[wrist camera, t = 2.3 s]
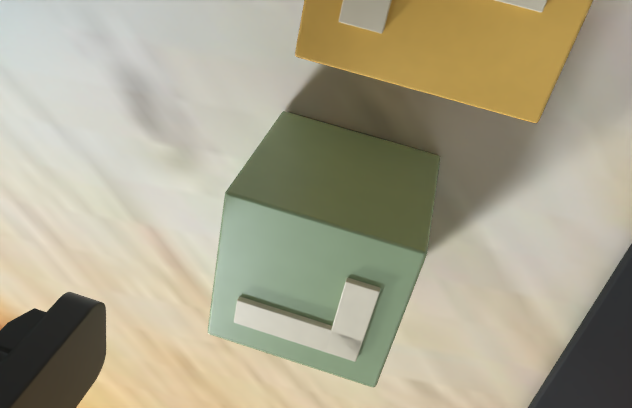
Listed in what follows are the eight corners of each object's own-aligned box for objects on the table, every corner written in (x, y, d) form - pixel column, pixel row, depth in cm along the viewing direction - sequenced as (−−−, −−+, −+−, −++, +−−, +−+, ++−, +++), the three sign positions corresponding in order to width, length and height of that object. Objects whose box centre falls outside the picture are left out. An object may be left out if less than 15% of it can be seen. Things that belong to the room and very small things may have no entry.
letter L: (282, 109, 17) (222, 195, 13) (441, 154, 17) (427, 257, 13) (260, 235, 20) (204, 338, 16) (396, 277, 19) (374, 394, 15)
